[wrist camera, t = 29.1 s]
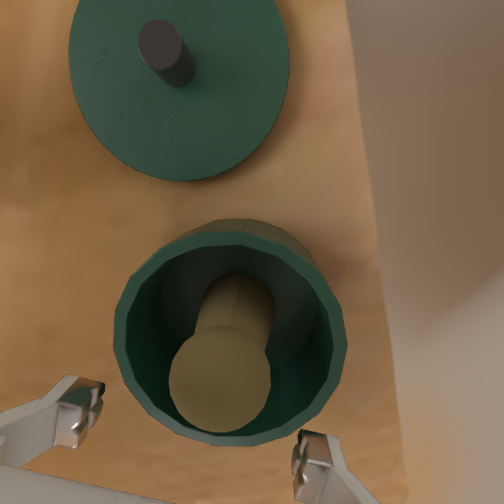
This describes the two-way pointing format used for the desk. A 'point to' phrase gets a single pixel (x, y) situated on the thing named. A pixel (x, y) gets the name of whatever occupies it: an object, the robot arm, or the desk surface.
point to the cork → (225, 356)
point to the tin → (186, 314)
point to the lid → (179, 80)
